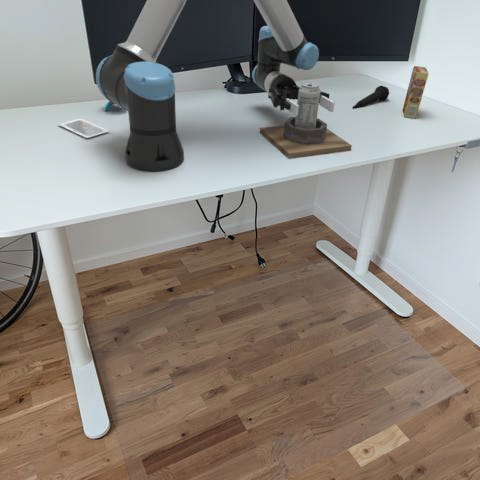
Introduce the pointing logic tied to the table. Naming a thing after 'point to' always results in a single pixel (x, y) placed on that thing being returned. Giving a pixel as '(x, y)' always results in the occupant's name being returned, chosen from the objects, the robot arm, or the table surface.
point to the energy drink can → (308, 105)
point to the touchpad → (83, 128)
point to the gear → (109, 105)
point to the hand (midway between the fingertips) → (315, 108)
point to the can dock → (303, 148)
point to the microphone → (374, 97)
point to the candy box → (415, 91)
